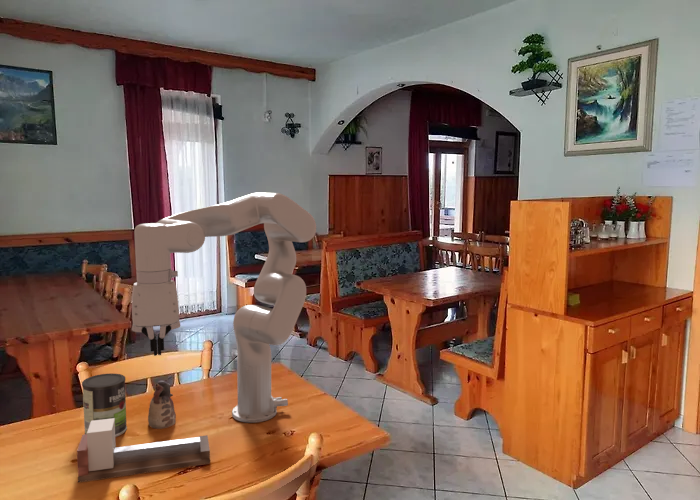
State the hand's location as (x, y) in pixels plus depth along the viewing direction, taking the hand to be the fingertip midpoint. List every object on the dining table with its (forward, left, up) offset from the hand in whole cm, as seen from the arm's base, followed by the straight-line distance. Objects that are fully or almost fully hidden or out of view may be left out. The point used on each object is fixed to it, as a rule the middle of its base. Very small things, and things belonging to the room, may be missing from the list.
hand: (157, 353), depth 125 cm
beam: (+3, +3, -24) cm, 25 cm away
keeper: (+12, +3, -24) cm, 27 cm away
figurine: (0, -18, -26) cm, 32 cm away
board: (+3, +3, -26) cm, 26 cm away
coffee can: (+14, -17, -26) cm, 34 cm away
